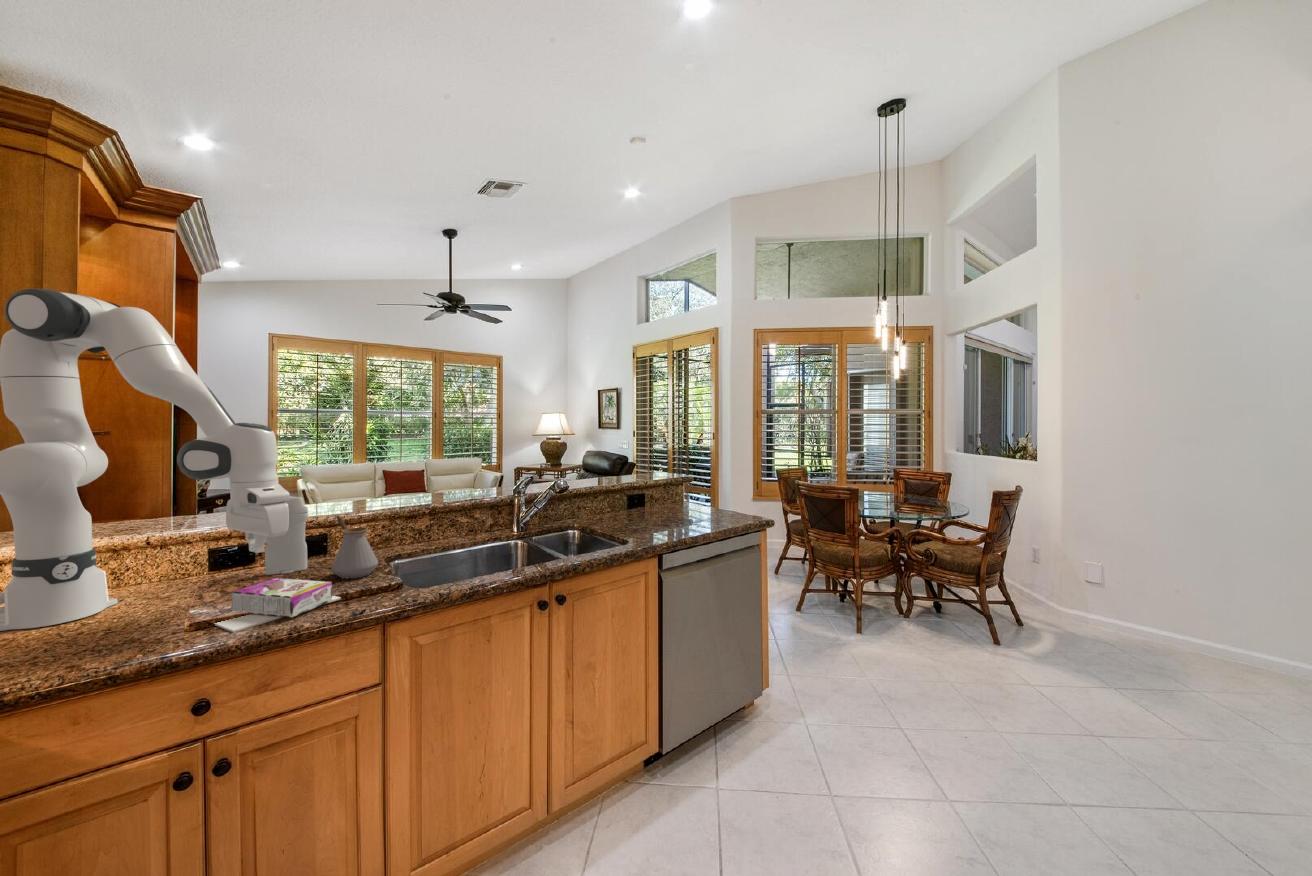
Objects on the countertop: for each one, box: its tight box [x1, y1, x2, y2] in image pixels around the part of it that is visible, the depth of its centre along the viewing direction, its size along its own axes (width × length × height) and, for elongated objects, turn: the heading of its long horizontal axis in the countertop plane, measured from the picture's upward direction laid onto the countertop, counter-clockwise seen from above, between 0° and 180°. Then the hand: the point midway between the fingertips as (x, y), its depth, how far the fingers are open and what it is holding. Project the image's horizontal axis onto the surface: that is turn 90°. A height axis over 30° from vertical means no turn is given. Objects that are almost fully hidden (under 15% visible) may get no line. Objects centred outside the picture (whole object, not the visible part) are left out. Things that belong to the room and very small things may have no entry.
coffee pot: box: [330, 515, 379, 579], centre depth 147 cm, size 21×12×15 cm, turn 48°
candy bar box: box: [231, 577, 333, 619], centre depth 118 cm, size 11×5×16 cm
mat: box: [214, 595, 342, 633], centre depth 117 cm, size 13×22×1 cm, turn 153°
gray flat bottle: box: [264, 495, 309, 576], centre depth 145 cm, size 11×4×22 cm, turn 130°
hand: (256, 551), depth 118 cm, fingers closed
